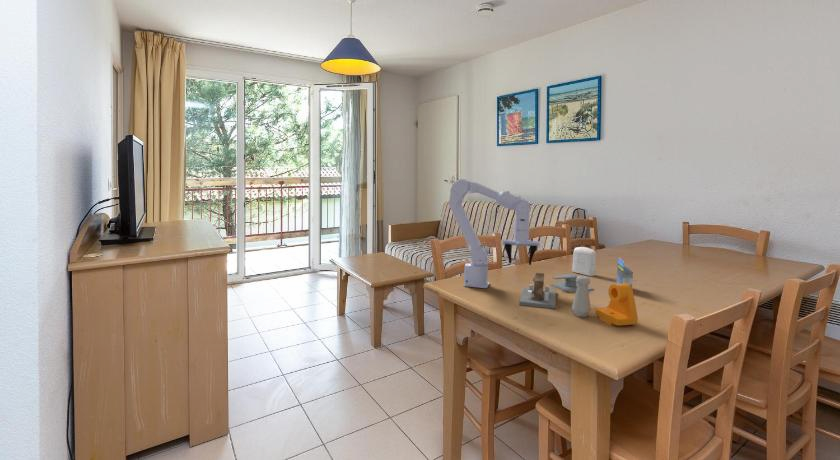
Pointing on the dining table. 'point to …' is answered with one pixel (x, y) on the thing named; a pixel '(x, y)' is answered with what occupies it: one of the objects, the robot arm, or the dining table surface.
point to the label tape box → (624, 274)
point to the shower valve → (567, 283)
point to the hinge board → (546, 302)
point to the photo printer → (584, 261)
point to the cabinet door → (538, 286)
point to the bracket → (619, 306)
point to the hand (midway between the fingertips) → (520, 263)
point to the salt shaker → (582, 297)
